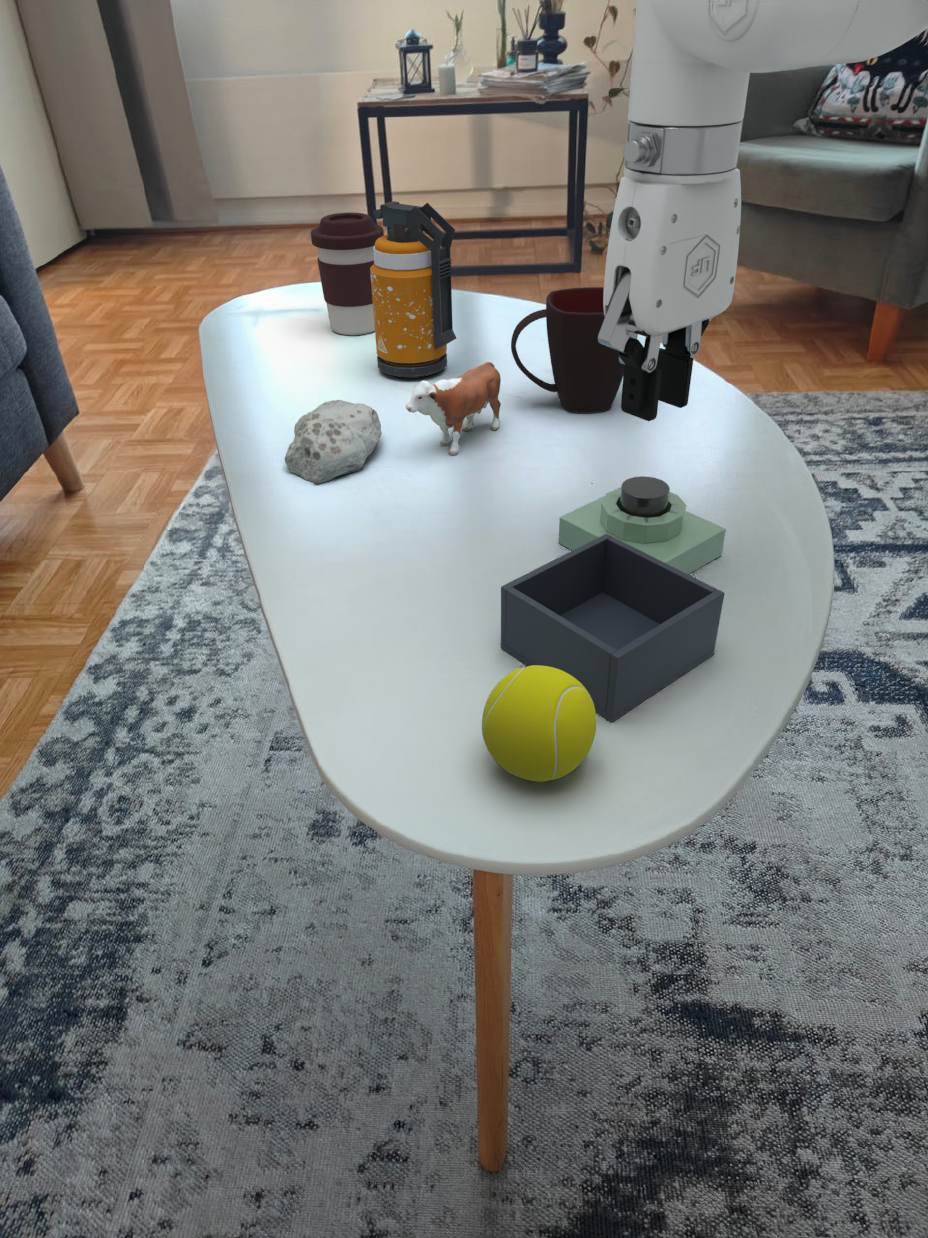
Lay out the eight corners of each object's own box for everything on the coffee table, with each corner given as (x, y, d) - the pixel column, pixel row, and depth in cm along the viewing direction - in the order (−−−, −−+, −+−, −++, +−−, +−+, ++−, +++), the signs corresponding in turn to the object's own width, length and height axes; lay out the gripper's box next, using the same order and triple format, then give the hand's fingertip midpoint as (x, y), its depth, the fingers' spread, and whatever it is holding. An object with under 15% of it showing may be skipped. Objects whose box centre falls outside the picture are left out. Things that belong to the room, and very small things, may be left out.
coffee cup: (352, 313, 136) (342, 206, 127) (403, 324, 131) (397, 214, 123) (307, 331, 130) (293, 220, 121) (359, 343, 125) (349, 228, 116)
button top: (676, 509, 76) (679, 487, 75) (646, 525, 74) (648, 502, 73) (640, 492, 79) (642, 471, 78) (609, 507, 77) (611, 486, 76)
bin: (713, 655, 67) (725, 592, 63) (611, 723, 61) (618, 658, 58) (601, 592, 74) (606, 533, 70) (500, 648, 68) (500, 586, 65)
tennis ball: (610, 750, 59) (618, 666, 55) (561, 820, 54) (566, 734, 50) (516, 713, 62) (518, 631, 58) (462, 776, 57) (460, 692, 53)
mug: (637, 418, 102) (647, 311, 95) (515, 424, 101) (517, 317, 94) (618, 385, 110) (626, 284, 103) (505, 391, 109) (506, 290, 102)
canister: (407, 352, 121) (398, 191, 110) (474, 368, 116) (471, 200, 104) (363, 372, 116) (348, 204, 104) (431, 390, 110) (424, 215, 99)
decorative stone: (279, 439, 99) (273, 396, 97) (376, 427, 102) (372, 384, 99) (290, 488, 90) (283, 442, 87) (396, 474, 92) (393, 428, 89)
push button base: (721, 555, 78) (729, 509, 75) (654, 594, 73) (660, 547, 71) (625, 510, 85) (629, 466, 82) (558, 543, 80) (560, 498, 77)
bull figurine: (402, 456, 95) (397, 382, 90) (483, 416, 103) (483, 346, 99) (432, 468, 93) (429, 392, 88) (513, 426, 101) (514, 354, 96)
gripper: (644, 173, 54) (620, 454, 65) (799, 142, 63) (755, 395, 73) (555, 159, 59) (547, 423, 70) (711, 131, 67) (681, 371, 78)
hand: (654, 406), depth 71 cm, fingers open, 3 cm apart
